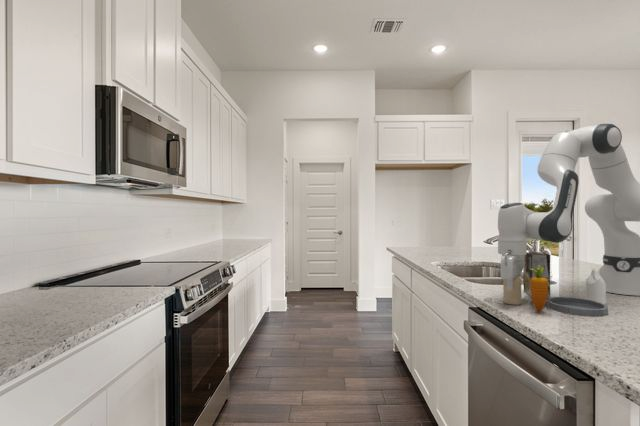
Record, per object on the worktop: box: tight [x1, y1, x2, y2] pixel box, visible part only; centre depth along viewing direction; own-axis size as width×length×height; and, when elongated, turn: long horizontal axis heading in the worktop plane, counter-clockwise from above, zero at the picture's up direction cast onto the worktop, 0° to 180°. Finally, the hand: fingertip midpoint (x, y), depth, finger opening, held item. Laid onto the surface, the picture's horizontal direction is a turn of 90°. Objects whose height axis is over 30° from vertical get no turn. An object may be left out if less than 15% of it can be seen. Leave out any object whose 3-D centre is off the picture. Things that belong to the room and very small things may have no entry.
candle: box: [502, 275, 522, 306], centre depth 121 cm, size 6×6×10 cm
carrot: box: [530, 265, 548, 313], centre depth 110 cm, size 5×5×15 cm
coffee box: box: [522, 251, 551, 299], centre depth 133 cm, size 9×6×16 cm
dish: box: [546, 296, 609, 318], centre depth 114 cm, size 16×16×2 cm
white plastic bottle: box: [585, 268, 607, 305], centre depth 121 cm, size 6×12×6 cm
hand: (512, 288), depth 121 cm, fingers closed on candle, 5 cm apart
